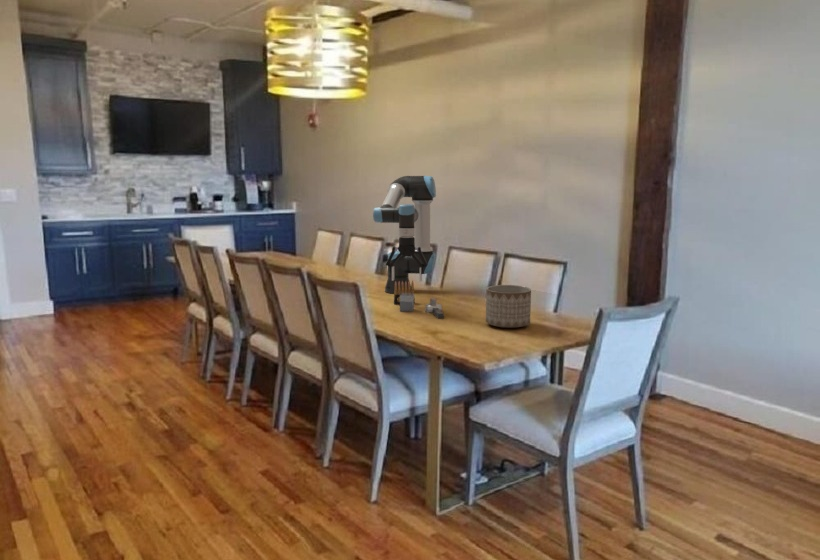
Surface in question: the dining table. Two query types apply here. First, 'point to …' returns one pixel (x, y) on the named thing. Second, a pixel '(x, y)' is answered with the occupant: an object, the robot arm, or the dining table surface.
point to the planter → (508, 306)
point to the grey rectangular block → (407, 302)
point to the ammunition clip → (402, 291)
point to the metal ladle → (434, 309)
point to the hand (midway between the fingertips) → (406, 280)
